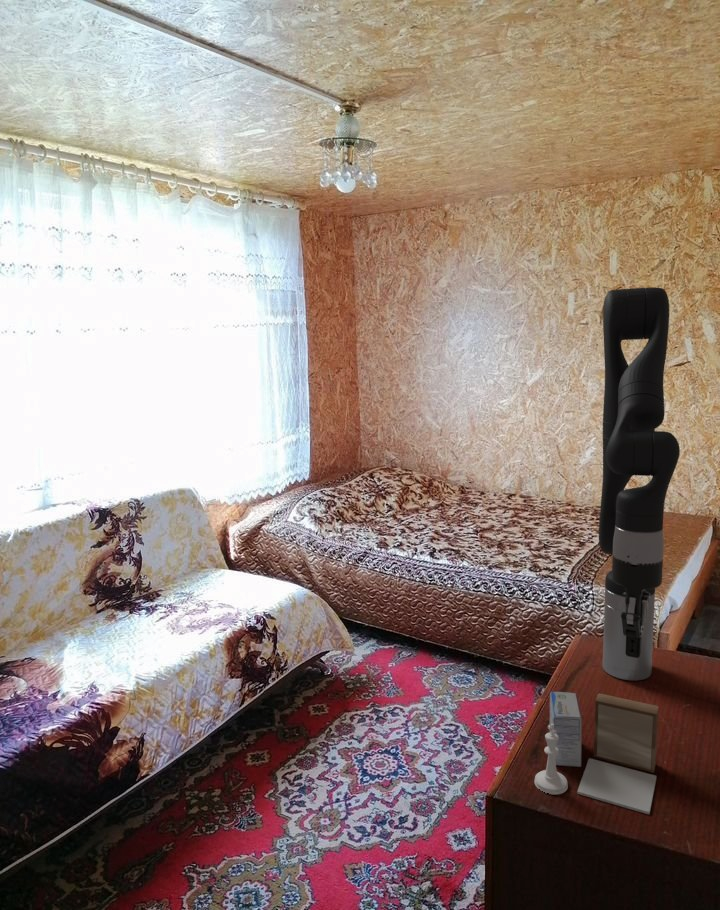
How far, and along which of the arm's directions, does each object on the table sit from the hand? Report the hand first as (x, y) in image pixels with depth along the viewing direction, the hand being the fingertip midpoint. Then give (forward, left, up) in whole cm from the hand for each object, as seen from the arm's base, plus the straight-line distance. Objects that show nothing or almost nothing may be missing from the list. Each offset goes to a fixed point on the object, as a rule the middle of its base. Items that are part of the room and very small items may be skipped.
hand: (633, 655), depth 112 cm
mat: (+13, 0, -15) cm, 20 cm away
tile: (+6, 0, -15) cm, 17 cm away
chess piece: (+17, -9, -15) cm, 25 cm away
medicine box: (+8, -9, -15) cm, 20 cm away
